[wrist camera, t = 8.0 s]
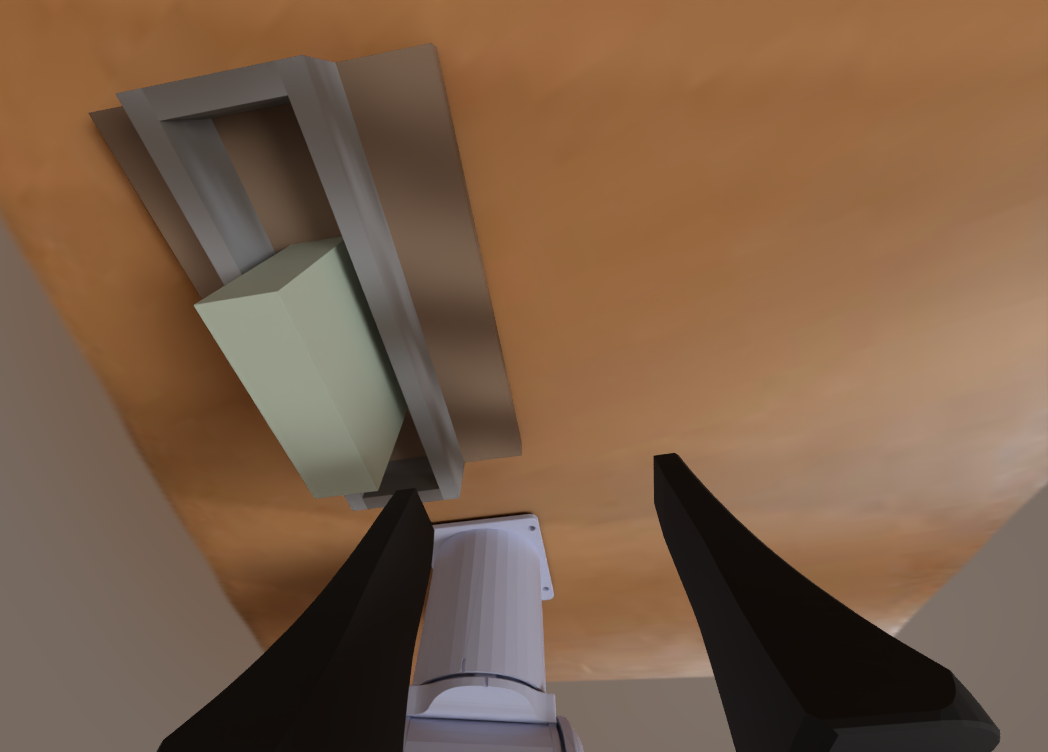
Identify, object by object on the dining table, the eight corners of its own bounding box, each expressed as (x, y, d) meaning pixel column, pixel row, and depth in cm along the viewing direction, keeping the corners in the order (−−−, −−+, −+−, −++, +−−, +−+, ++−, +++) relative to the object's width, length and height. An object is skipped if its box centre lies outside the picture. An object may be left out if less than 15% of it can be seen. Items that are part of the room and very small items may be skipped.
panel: (411, 397, 21) (378, 490, 16) (363, 404, 21) (314, 498, 16) (350, 234, 17) (277, 291, 12) (291, 244, 17) (193, 305, 12)
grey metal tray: (521, 442, 24) (522, 490, 21) (320, 468, 25) (293, 517, 22) (436, 46, 14) (415, 31, 11) (111, 112, 15) (14, 114, 12)
